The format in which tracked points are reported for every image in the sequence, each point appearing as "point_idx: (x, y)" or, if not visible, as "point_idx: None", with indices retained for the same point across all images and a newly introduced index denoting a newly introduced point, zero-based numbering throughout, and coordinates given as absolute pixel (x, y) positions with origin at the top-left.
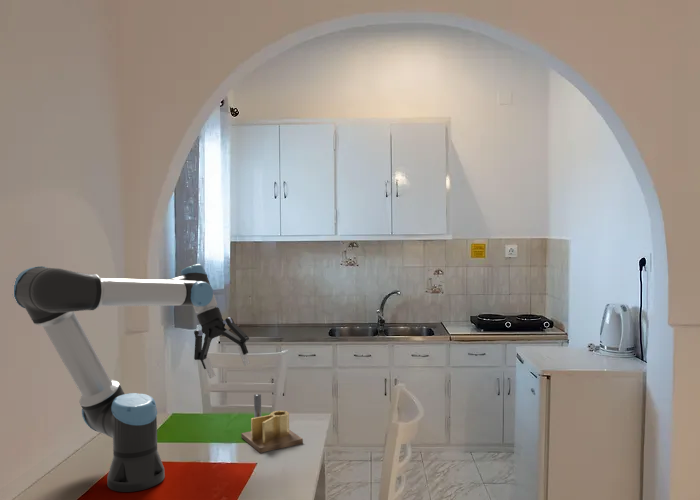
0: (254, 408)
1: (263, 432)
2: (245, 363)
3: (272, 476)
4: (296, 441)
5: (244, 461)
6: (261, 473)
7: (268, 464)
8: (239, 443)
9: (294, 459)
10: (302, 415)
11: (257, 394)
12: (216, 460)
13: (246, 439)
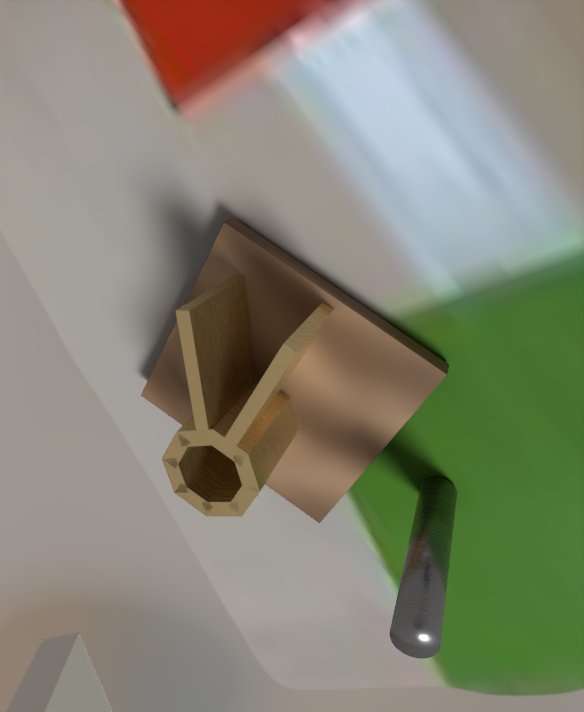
0: (438, 560)
1: (212, 293)
2: (32, 665)
3: (23, 7)
4: (154, 370)
5: (235, 91)
6: (78, 7)
7: (121, 120)
8: (413, 294)
9: (76, 224)
10: (351, 669)
11: (421, 648)
12: (378, 15)
13: (383, 325)
